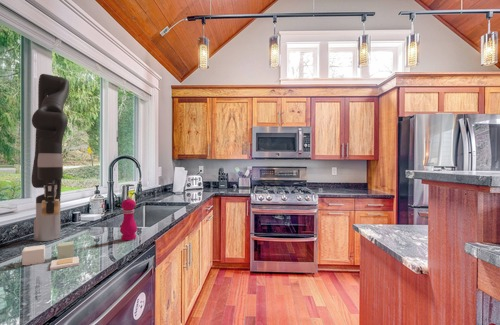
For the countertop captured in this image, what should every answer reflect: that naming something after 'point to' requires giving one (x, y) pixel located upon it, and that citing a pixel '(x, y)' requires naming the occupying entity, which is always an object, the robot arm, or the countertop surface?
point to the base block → (33, 255)
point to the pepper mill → (128, 220)
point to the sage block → (65, 250)
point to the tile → (64, 263)
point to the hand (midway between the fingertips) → (50, 212)
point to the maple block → (56, 208)
